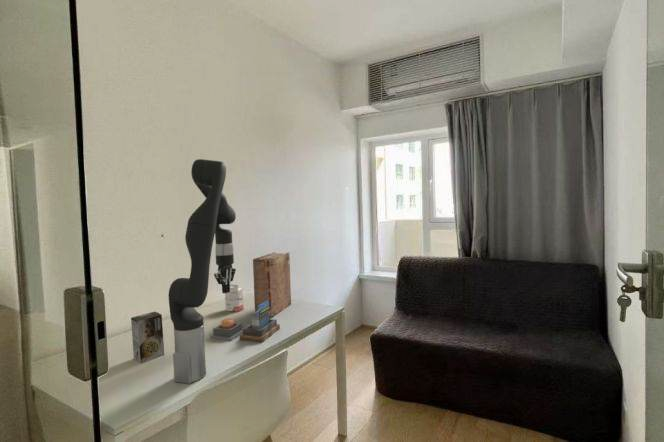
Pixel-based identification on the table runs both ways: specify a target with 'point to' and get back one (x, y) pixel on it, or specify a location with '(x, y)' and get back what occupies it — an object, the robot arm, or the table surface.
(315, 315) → the table surface
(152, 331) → the coffee box
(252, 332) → the tray
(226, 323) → the button
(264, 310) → the label tape box
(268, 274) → the book
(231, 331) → the button panel
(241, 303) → the ink cartridge box
